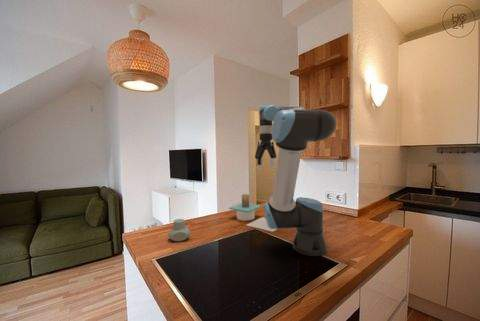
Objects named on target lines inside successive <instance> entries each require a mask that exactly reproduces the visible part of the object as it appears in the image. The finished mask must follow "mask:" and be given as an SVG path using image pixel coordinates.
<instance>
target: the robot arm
mask: <svg viewBox="0 0 480 321" xmlns="http://www.w3.org/2000/svg"><path fill="white" fill-rule="evenodd" d="M258 114H259V117H258V118H259V140H260V141H257V147H256V152H255V155H254V158H255V159H256V160H257V171H260V172H263V171H264V170H263V159H262V158H263V157H264V156H263V155H264V154H265V151H267V153H268V154H269V157H270V158H269V169H271V170H274V169H275V159H276V158H277V162H276V163H277V164H276V172H275V180H274V187H273V194H272V195H271V196H270V197H269V200H268V202H265V203H264V204H263V208H264V211H263V212H264V216H265V217H264V218H266V222H267V225H268V227H269V228H271V229H277V230H278V229H279V230H280V229H281V230H283V229H296V232H295V234H294V238H293V240H292V248H293V250H294V251H295V252H296V253H299V254H301V255H303V256H308V257H321V256H323V255H325V254H326V253H328V245H327V242H326V239H325V236H324V231H323V230H324V229H323V228H324V209H323V208H324V207H323V203H322V202H321V201H319V199H313V198H310V197H302V196H301V197H297V198H296V199H294V196H295V190H296V184H297V179H298V173H299V168H300V162H301V156H302V153H303V152H304V151H305V150H306V149H307V148H308V143H310V142H313V143H314V142H321V141H324V140H327V139H328V138H330V137H331V136H332V135H333V134H334V132H335V131H336V128H337V119H336V117H335V115H334V114H333V113H332V112H331V111H328V110H325V109H305V108H304V107H303V106H276V104H275V105H274V104H270V105H262V106H260V107H259V112H258ZM275 146H276V148H278V155H277V152H276V149H275Z"/></svg>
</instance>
